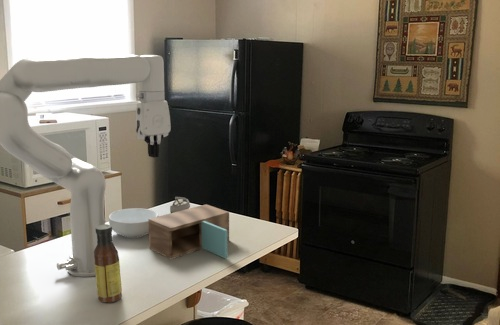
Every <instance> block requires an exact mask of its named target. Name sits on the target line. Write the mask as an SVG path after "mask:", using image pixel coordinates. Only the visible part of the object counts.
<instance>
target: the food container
mask: <svg viewBox="0 0 500 325" xmlns="http://www.w3.org/2000/svg"><path fill="white" fill-rule="evenodd" d="M190 208H191V204H190V201H189V199H188V198H186V197H182V196H175V197H174V201H173V203H172V205H170V206H169V212H170V213H174V212H178V211H182V210H186V209H190Z"/></svg>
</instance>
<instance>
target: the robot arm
mask: <svg viewBox="0 0 500 325" xmlns="http://www.w3.org/2000/svg"><path fill="white" fill-rule="evenodd" d="M164 68H165V65H164V58H163V56H162V55H156V54H143V55H137V54H118V55H116V56H114V57H94V56H83V55H82V56H79V55H78V56H68V57H56V58H55V57H54V58H39V59H32V58H31V59H29V58H25V59H20V60H18V61H17V62H16V63H15V64H14V65H12V67H10V69H8V71H6V73H5V74H4V75H3V76H2V77H1V79H0V146H1V147H2V148H3V149H4V150H5V151H6V152H8V153H9V154H10V155H12V157H14V158H16V159H17V160H19V161H20V162H22V163H24V164H25V165H27V166H28V167H29V168H30V169H31V170H32V171H34V172H35V173H37V174H39V175H40V176H42V177H44V178H46V179H47V180H49V181H51V182H52V183H55V184H56V185H58V186H60V187H62V188H64V189H65V190H67V191H69V192H70V193H71V199H70V204H69V205H70V206H69V220H70V231H71V233H70V234H71V249H72V252H71V253H72V255H69V259H66V260H65V261H61V262H56V268H57V270H58V271H60V270H64V269H65V271H68V273H69V274H71V275H72V276H74V277H82V278H86V277H88V278H89V277H96V274H95V264H94V263H95V259H94V250H95V248H96V246H97V233H96V227H97V226H99V225H103V224H106V220H105V218H106V217H105V194H106V186H107V184H106V183H107V182H106V178H105V175H104V173H103V172H102V171H101V169H100V168H98V167H97V166H95V165H93V164H91V163H89V162H85V161H83V160H81V159H80V158H78V157H76V156H74V155H73V154H71V153H69V152H68V150H67V149H65V148H64V147H63V146H62V145H60V144H58V143H55V142H53V141H51V140H50V139H48V138H47V137H45V136H43V135H42V134H40V133H39V132H37V131H36V130H35V129H33V128H32V127H31V126H30V124H29V120H28V117H29V116H28V114H29V113H28V106H27V104H26V100H27V99H29V96H31V94H32V93H45V92H46V93H47V92H54V91H55V92H56V91H63V90H73V89H84V88H85V89H86V88H97V87H107V86H109V87H110V86H119V85H128V84H129V85H130V84H138V93H136V94H135V97H136V99H137V100H138V101H137V104H136V110H135V132H136V133H137V135H136V138H137V139H138V140H142V141H144V142H145V144H147V154H148V157H150V158H153V159H155V158H159V156H160V155H159V154H160V145H161V141H162V140H163V138H166V137H167V136H169V133H170V132H171V127H172V126H171V125H172V124H171V115H170V110H169V109H170V107H169V105H168V104H169V103H168V101H167V100H165V70H164Z"/></svg>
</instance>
